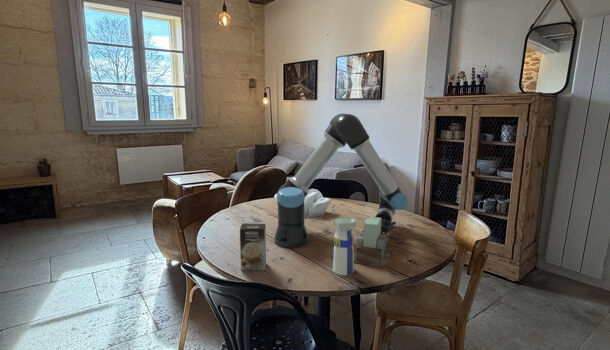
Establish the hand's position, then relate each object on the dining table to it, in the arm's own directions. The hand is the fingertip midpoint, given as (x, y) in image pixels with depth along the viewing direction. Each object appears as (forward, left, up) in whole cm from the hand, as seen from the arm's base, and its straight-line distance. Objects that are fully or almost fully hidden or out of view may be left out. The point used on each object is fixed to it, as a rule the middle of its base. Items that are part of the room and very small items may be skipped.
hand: (375, 235), depth 136 cm
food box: (-49, +3, -8) cm, 50 cm away
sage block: (-3, -3, -6) cm, 8 cm away
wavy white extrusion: (-12, +65, -8) cm, 67 cm away
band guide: (-3, -3, -7) cm, 9 cm away
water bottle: (-18, -10, -8) cm, 22 cm away
